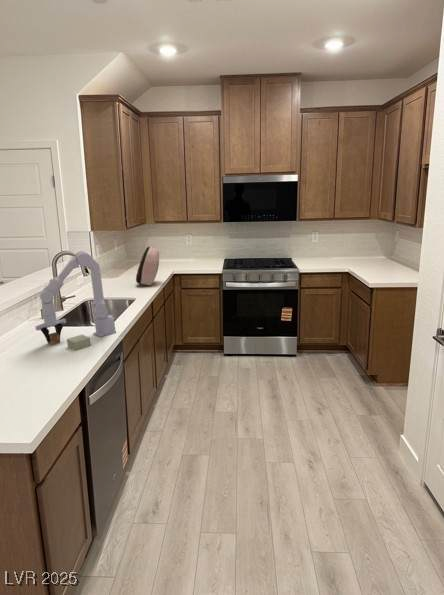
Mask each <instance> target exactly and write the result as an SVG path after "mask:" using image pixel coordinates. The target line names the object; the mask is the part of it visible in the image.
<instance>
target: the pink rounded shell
mask: <svg viewBox="0 0 444 595" xmlns="http://www.w3.org/2000/svg"><path fill="white" fill-rule="evenodd" d="M159 266H160V252H159V249H158V248H157V247H154V246H148V247H146V248H145V250H144V252H143V254H142V256H141V259H140V262H139V265H138V268H137V271H136V272H137V273H136V276H135V282H136V283H137V284H138V285H144V286H152V285H153V284H154V282H155V279H156V276H157V274H158V271H159V268H160V267H159Z"/></svg>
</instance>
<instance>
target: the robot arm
mask: <svg viewBox="0 0 444 595" xmlns="http://www.w3.org/2000/svg"><path fill="white" fill-rule="evenodd" d="M81 266H82V267H85V268H87V269H88V270H89V271H90V278H91V286H92V295H93V306H92V312H93V313H94V314H95V315H94V317H93V320H94V325H95V326H94V328H95V332H93V333H92V334H93V335H95V336H97V337H100V338H101V337H105V336H108V335H110V334H115V333H117V331H116V325H115V319H114V317H113V316H112V315H111V314H109V310H108V308H107V306H106V302H105V298H104V290H103V282H102V274H101V266H100V264H99V263H98V262H97V261H96V260H95V259H94V257H93V256H91V255H90V254H89V253H87V252H85V251H83V250H81V251H77V252H76V253H75V255H74V256H72V257H71V259H70V260H69V261H68V262H67V263H66V265H65V266H64V267H63V269H62V270H61V271H60V273H59V274H58V275H57V277H56V276H55V277H53V278H50V279H49V282H48V284H47V285H46V287H43V290H42V291H40V293H39V298H40V301H41V302H40V304H41V309H42V316H43V322H44V323H41V324H38V325H36V326H34V327H35V330H36V331H41V332H42V334H43V335H44V337H45V340H46V342H47V343H48V342H50V337H49V334H50V330H49V329H48V328H51V327H54V330H55V332H56V333H58V334H59V337H60V338H61V335H62V334H61V333H62V330H63V327H64V325H63V324H67V319H66V318H62V319H57V313H56V306H55V304H54V299H55V298H54V297H55V296H56V295H57V294H58V292H59V291H60V290H61V289H62V288H63V286H64V281H65V279H66V278H67V277H68V276H69V275H70V274H71V272H72V271H74V270H75V269H77V268H80V267H81Z"/></svg>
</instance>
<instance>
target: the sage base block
mask: <svg viewBox="0 0 444 595" xmlns="http://www.w3.org/2000/svg"><path fill="white" fill-rule="evenodd" d="M66 344H67V347H68V348H70V349H71V350H74V351H78V350H81V349H84V348H88V347H90V346H92V342H91V337H89V336H87V335H85V334H78V335H75V336H72V337H69V338H66Z"/></svg>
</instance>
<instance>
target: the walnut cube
mask: <svg viewBox="0 0 444 595" xmlns="http://www.w3.org/2000/svg"><path fill="white" fill-rule="evenodd" d="M49 337H50V342H47V344H48V345H50V346H54V345H56V344H60V343H61V336H60V337H59V334H58V333H56V331H54V332H52V333H49Z"/></svg>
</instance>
